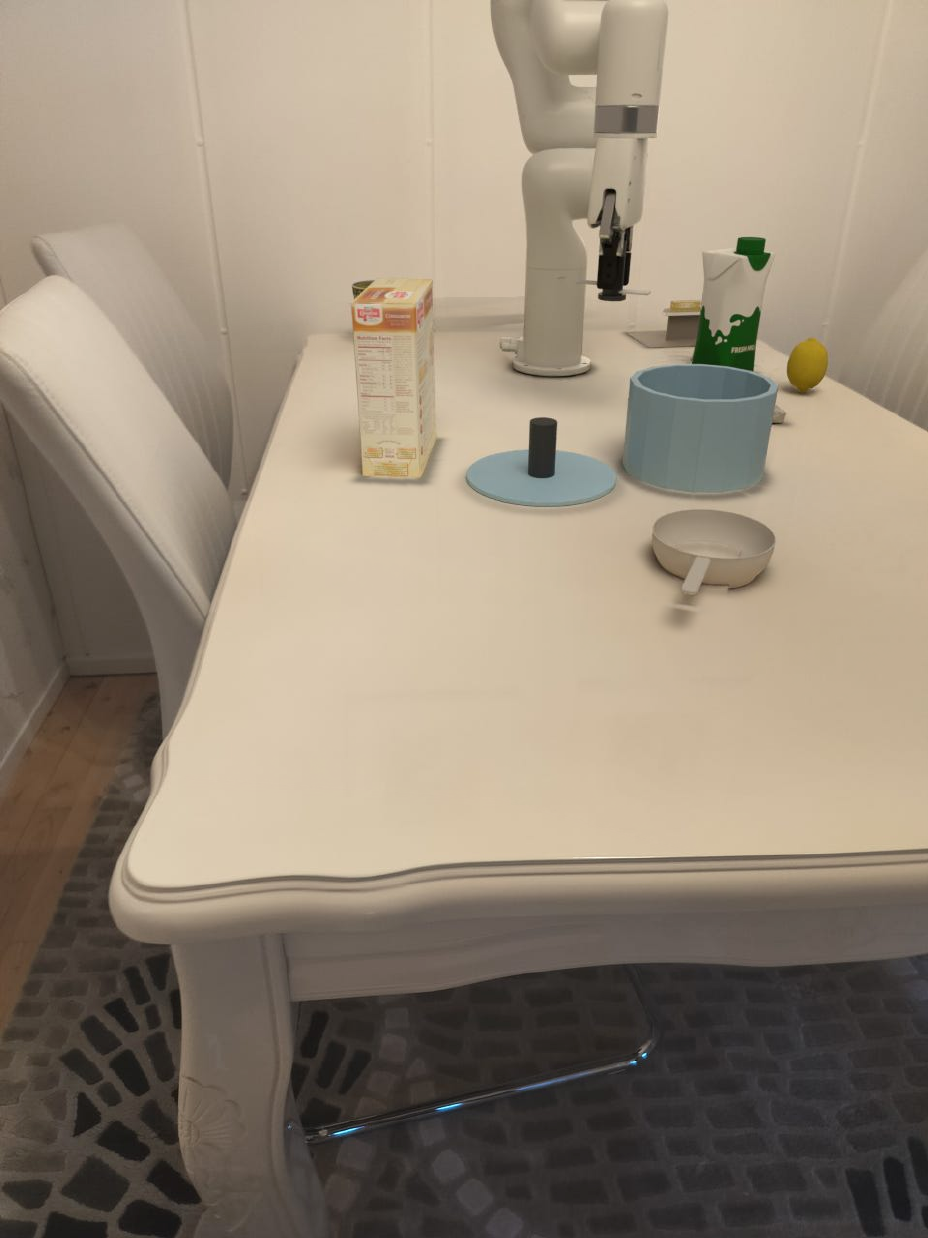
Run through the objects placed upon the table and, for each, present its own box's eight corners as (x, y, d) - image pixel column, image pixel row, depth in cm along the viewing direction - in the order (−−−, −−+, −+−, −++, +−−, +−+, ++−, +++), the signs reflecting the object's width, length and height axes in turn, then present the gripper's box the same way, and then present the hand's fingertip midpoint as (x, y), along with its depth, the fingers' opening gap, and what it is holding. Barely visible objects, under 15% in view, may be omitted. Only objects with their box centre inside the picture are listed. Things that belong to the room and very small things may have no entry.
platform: (627, 333, 167) (630, 296, 164) (717, 329, 170) (722, 293, 166) (648, 347, 157) (652, 308, 154) (744, 343, 159) (750, 305, 156)
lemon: (824, 398, 129) (835, 342, 125) (784, 396, 130) (794, 340, 126) (819, 388, 133) (829, 334, 129) (780, 386, 134) (790, 332, 130)
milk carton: (723, 381, 137) (743, 242, 127) (681, 369, 144) (697, 235, 134) (762, 373, 141) (784, 237, 131) (719, 362, 148) (737, 231, 138)
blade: (572, 298, 115) (575, 240, 112) (580, 293, 118) (583, 236, 115) (645, 303, 112) (651, 244, 109) (651, 298, 115) (657, 240, 111)
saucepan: (775, 553, 84) (782, 515, 82) (751, 645, 69) (759, 602, 67) (661, 535, 87) (666, 499, 85) (616, 619, 73) (620, 577, 71)
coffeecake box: (383, 438, 113) (375, 276, 104) (438, 440, 113) (435, 277, 103) (359, 480, 100) (347, 300, 91) (421, 482, 100) (416, 301, 90)
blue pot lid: (442, 497, 96) (441, 434, 92) (498, 450, 109) (499, 393, 106) (592, 521, 90) (597, 454, 87) (631, 468, 104) (637, 409, 100)
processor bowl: (608, 485, 99) (616, 391, 94) (640, 443, 111) (648, 358, 106) (752, 505, 94) (768, 408, 88) (768, 459, 106) (784, 371, 101)
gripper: (612, 122, 113) (601, 275, 122) (575, 124, 100) (566, 295, 109) (671, 122, 110) (655, 278, 120) (641, 125, 97) (625, 300, 107)
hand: (612, 285), depth 114 cm, fingers closed on blade, 2 cm apart
